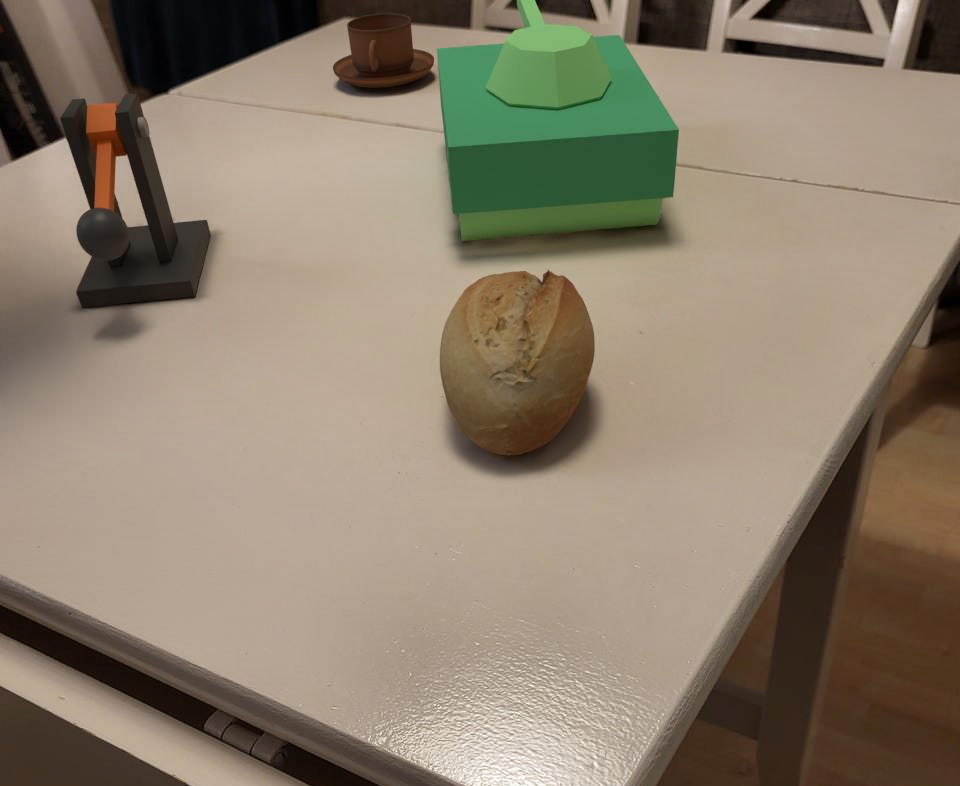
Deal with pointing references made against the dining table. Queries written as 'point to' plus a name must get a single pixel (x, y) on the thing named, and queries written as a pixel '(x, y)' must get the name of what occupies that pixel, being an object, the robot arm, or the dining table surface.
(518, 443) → the bread roll
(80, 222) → the pendulum
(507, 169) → the toy tank
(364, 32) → the cup and saucer
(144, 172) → the stand with upright posts
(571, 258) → the dining table surface
